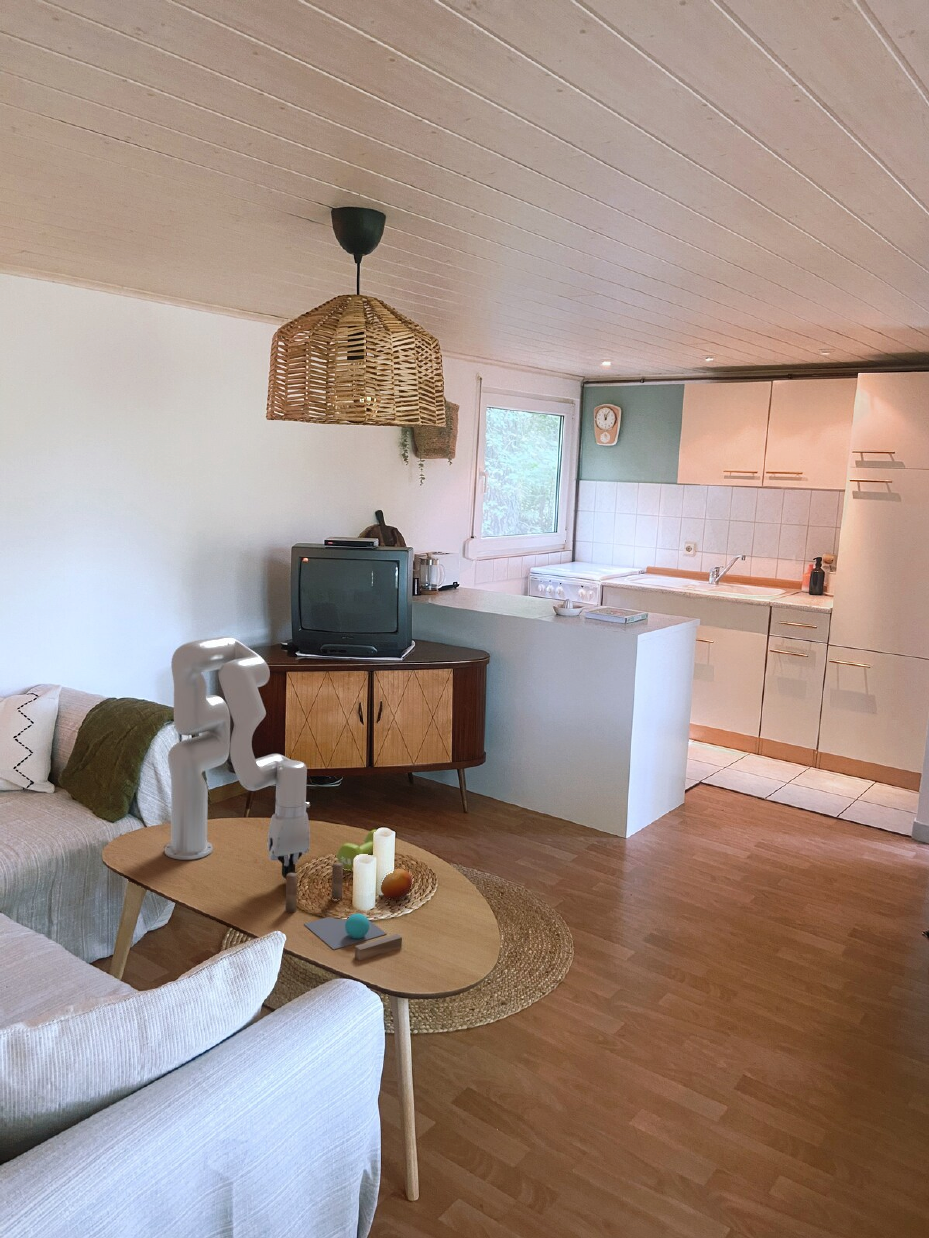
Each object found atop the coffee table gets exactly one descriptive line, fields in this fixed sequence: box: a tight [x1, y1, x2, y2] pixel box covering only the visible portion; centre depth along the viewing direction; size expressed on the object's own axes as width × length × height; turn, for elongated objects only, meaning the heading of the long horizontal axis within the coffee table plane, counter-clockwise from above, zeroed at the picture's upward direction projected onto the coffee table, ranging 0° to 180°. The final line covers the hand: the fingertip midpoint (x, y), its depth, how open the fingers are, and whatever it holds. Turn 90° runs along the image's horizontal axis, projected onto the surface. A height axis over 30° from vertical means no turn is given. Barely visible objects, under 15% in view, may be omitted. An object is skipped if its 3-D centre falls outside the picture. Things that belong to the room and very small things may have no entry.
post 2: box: [330, 861, 344, 900], centre depth 230 cm, size 3×3×9 cm
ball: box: [345, 912, 370, 939], centre depth 212 cm, size 6×6×6 cm
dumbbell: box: [336, 829, 378, 873], centre depth 254 cm, size 16×8×7 cm, turn 149°
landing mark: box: [303, 916, 387, 950], centre depth 216 cm, size 14×14×1 cm
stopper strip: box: [354, 933, 403, 962], centre depth 206 cm, size 2×11×2 cm, turn 127°
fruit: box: [380, 868, 413, 901], centre depth 234 cm, size 8×8×8 cm
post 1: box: [284, 872, 299, 914], centre depth 223 cm, size 3×3×9 cm
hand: (288, 877), depth 238 cm, fingers closed
